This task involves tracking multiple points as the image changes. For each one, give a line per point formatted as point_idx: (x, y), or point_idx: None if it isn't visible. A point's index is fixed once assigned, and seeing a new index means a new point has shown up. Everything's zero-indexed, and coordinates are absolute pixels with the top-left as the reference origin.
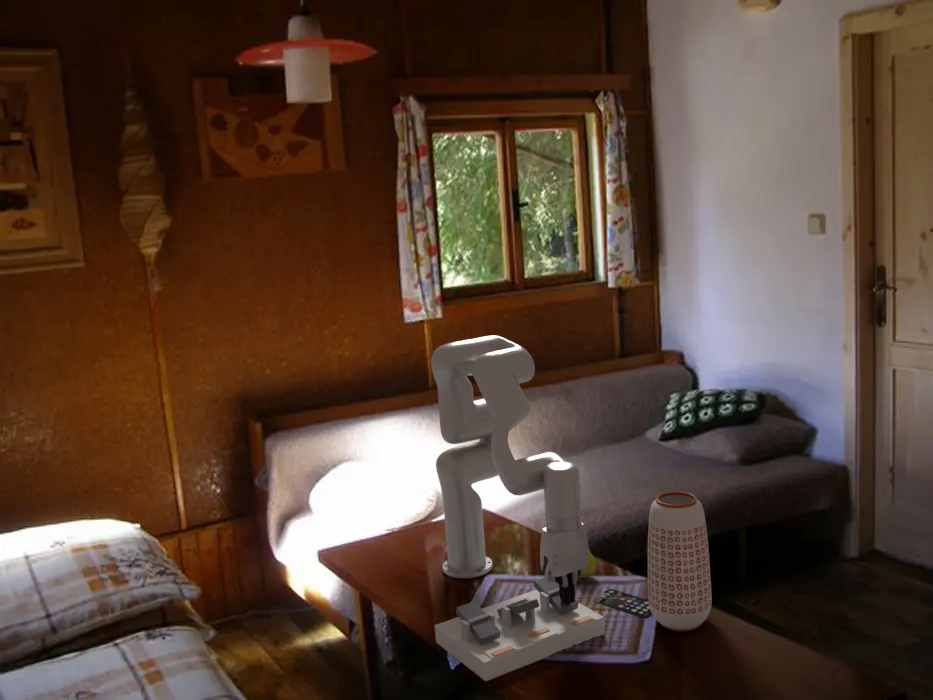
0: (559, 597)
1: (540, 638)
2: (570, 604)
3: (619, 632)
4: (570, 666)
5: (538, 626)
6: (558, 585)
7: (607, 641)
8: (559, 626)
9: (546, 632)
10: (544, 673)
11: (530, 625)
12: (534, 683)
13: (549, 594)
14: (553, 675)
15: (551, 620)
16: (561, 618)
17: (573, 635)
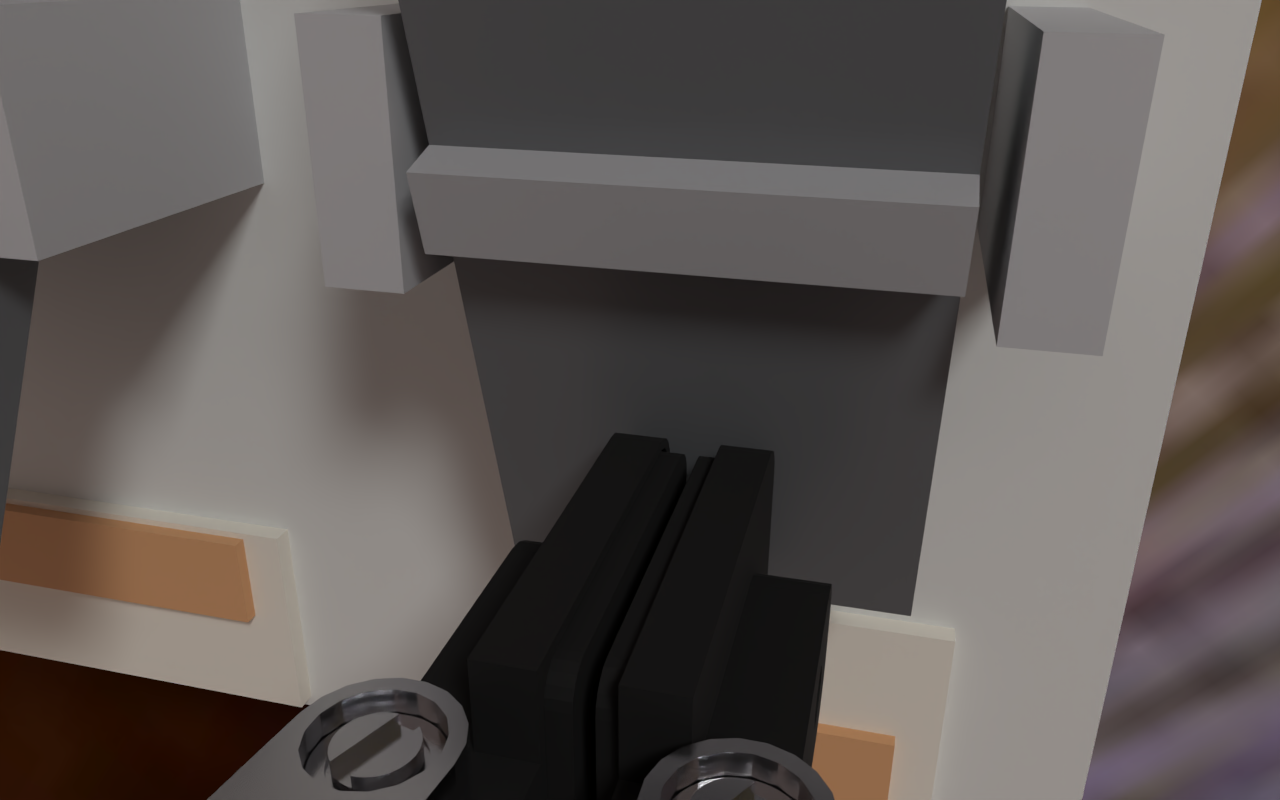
0: (648, 364)
1: (86, 656)
2: None
3: (1213, 762)
4: None
5: (203, 406)
6: (903, 36)
7: None
8: (424, 597)
9: (198, 614)
10: (153, 708)
11: (126, 308)
12: (38, 740)
13: (447, 242)
14: (200, 772)
15: (428, 404)
16: None
17: None
